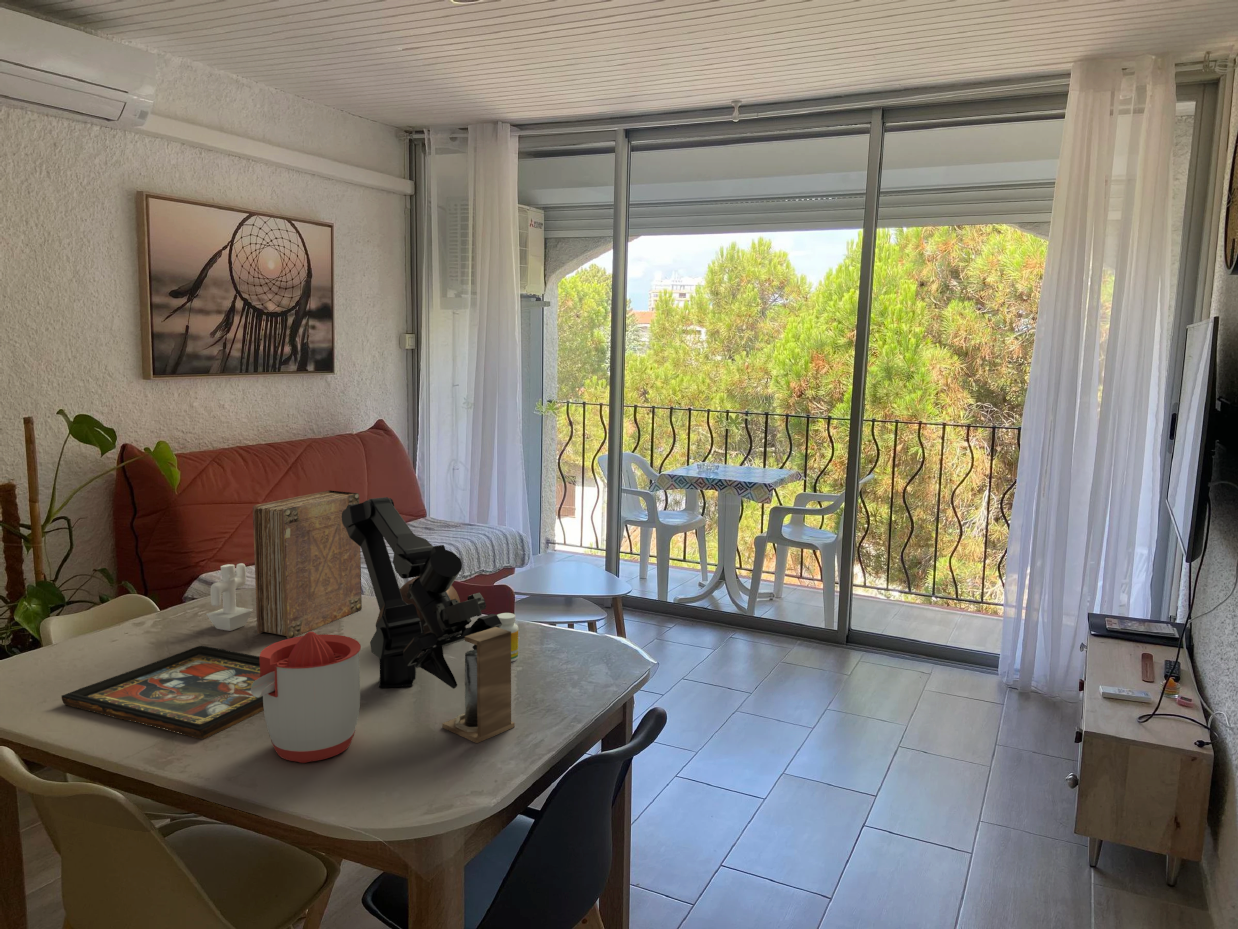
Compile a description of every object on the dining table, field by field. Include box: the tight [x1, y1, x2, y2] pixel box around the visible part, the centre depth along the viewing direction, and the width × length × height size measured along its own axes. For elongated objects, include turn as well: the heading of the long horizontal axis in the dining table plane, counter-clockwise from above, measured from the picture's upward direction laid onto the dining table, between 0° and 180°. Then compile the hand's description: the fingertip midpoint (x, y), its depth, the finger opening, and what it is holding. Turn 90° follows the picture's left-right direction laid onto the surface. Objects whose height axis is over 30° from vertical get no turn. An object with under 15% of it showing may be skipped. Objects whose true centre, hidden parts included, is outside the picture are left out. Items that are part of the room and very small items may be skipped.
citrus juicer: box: [251, 630, 362, 764], centre depth 143 cm, size 16×17×20 cm
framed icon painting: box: [61, 645, 264, 740], centre depth 167 cm, size 38×35×3 cm
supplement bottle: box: [496, 612, 519, 663], centre depth 186 cm, size 5×5×10 cm
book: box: [252, 490, 363, 639], centre depth 208 cm, size 25×9×30 cm, turn 157°
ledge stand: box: [441, 627, 516, 744], centre depth 152 cm, size 9×9×18 cm
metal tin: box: [464, 649, 478, 727], centre depth 152 cm, size 4×4×12 cm
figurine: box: [205, 562, 254, 632], centre depth 204 cm, size 7×9×15 cm
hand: (476, 679), depth 152 cm, fingers open, 9 cm apart
